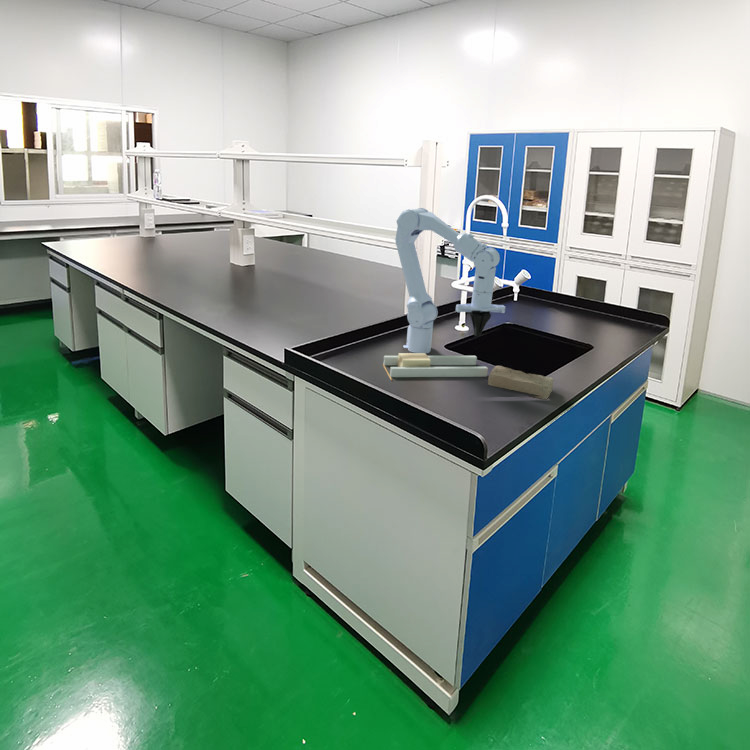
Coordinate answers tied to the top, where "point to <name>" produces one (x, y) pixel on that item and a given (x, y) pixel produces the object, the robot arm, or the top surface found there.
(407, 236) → the robot arm
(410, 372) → the chute
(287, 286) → the top surface
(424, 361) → the block
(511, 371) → the brick
